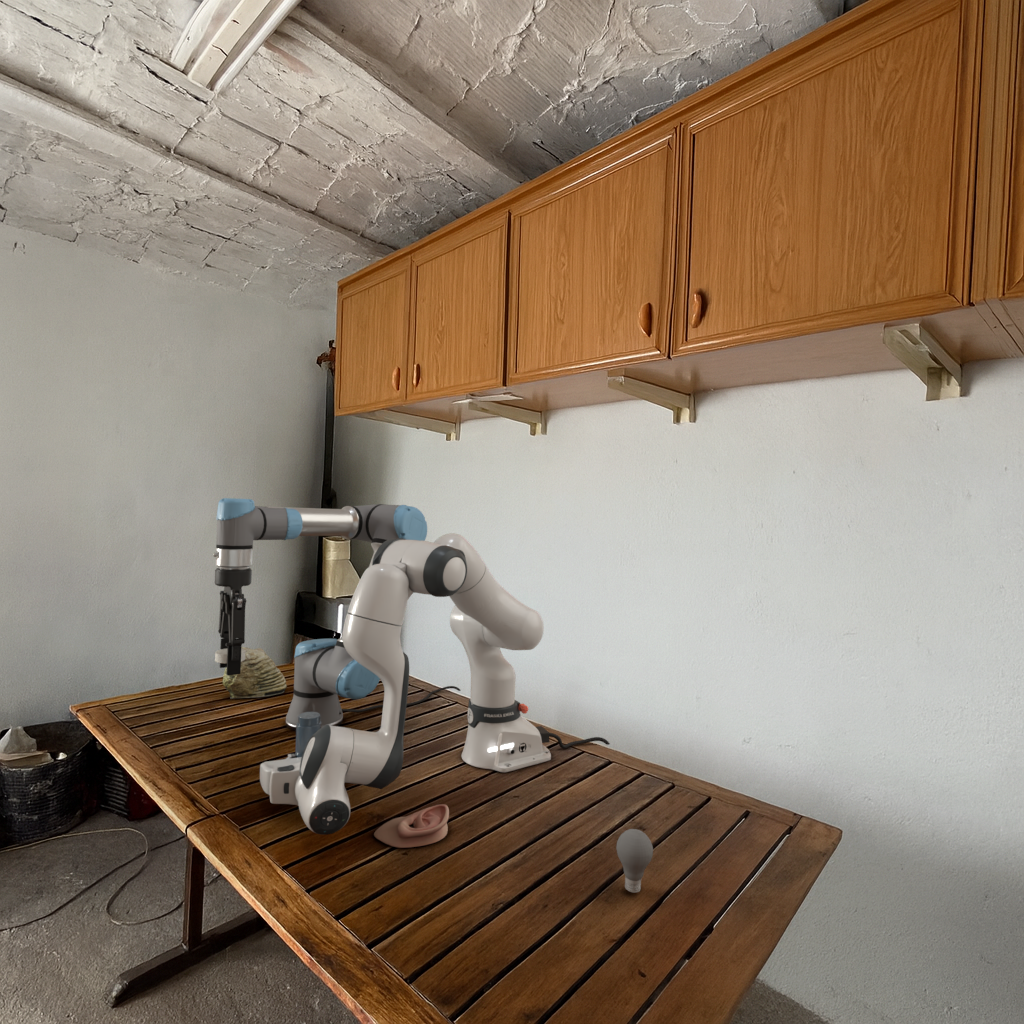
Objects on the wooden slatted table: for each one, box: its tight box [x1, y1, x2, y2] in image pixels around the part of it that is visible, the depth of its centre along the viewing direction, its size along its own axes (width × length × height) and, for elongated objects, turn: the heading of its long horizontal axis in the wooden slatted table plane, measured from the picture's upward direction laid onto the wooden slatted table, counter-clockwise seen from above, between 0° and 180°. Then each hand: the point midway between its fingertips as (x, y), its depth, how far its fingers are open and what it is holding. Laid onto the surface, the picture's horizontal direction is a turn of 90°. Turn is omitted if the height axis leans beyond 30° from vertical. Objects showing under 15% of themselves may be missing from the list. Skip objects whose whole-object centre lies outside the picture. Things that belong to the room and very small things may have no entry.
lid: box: [214, 648, 245, 664], centre depth 141 cm, size 6×6×2 cm
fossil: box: [222, 646, 288, 699], centre depth 198 cm, size 9×18×15 cm, turn 132°
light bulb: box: [615, 828, 654, 894], centre depth 106 cm, size 6×6×10 cm
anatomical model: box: [373, 803, 450, 849], centre depth 121 cm, size 13×4×12 cm
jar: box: [294, 712, 322, 758], centre depth 139 cm, size 5×5×15 cm
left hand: (229, 670), depth 141 cm, fingers closed on lid, 6 cm apart
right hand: (306, 755), depth 140 cm, fingers closed on jar, 5 cm apart
